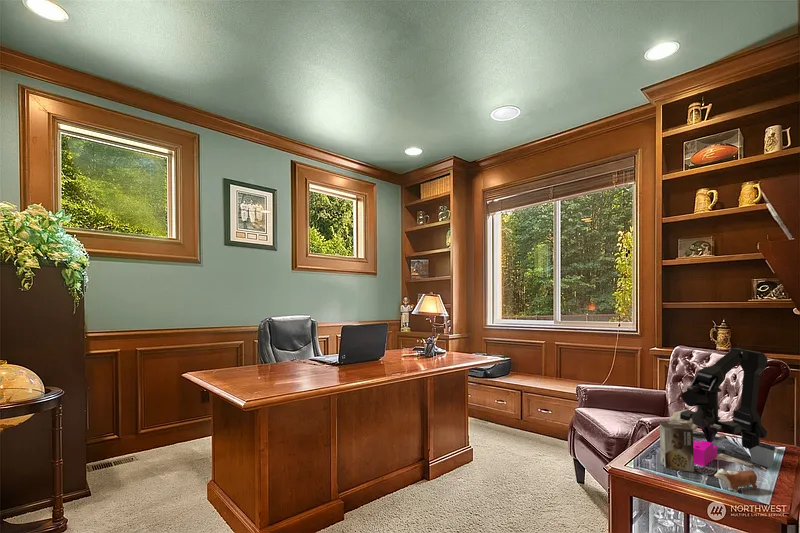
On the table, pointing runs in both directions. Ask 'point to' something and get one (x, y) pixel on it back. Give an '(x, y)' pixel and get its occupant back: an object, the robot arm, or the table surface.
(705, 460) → the toy block
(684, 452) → the beige tall box
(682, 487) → the table surface
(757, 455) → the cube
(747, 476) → the bull figurine
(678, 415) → the fossil replica
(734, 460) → the letter
